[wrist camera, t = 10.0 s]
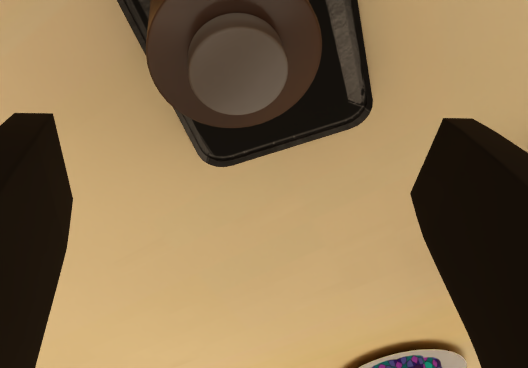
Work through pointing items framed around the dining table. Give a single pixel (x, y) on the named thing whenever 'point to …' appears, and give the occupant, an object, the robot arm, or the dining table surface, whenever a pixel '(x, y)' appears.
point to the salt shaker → (232, 57)
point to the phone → (307, 107)
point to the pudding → (420, 360)
